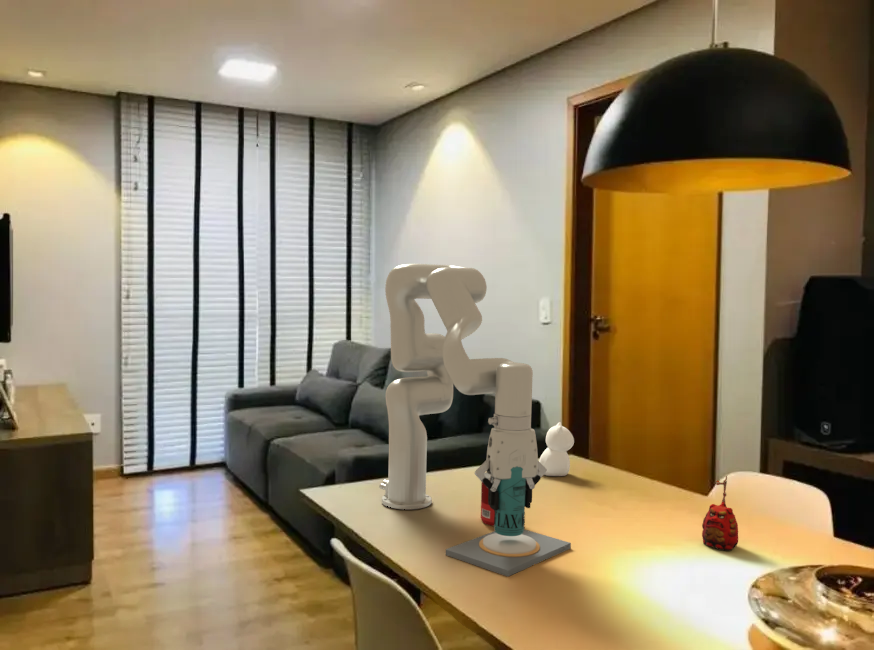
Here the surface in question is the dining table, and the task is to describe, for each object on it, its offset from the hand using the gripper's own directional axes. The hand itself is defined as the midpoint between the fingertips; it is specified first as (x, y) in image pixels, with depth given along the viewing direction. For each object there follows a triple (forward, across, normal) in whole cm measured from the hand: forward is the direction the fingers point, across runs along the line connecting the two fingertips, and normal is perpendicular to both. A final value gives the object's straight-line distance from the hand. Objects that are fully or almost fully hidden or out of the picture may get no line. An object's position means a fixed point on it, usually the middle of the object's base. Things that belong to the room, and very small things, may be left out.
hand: (509, 506), depth 161 cm
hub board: (+9, 0, 0) cm, 9 cm away
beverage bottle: (+7, 0, 0) cm, 7 cm away
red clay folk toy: (+10, +46, -8) cm, 48 cm away
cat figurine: (+10, +37, +56) cm, 68 cm away
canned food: (+10, +5, +19) cm, 22 cm away
